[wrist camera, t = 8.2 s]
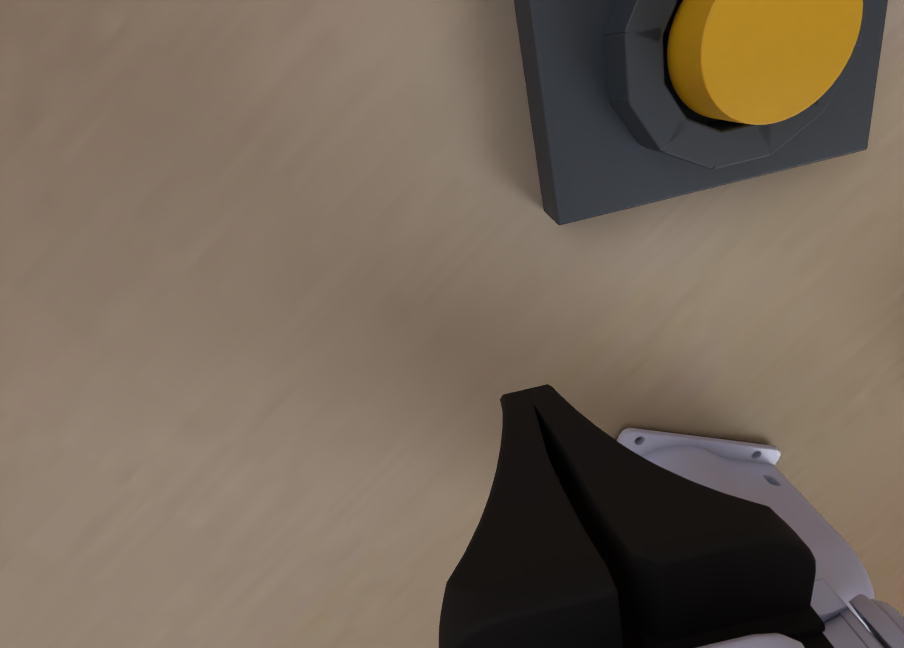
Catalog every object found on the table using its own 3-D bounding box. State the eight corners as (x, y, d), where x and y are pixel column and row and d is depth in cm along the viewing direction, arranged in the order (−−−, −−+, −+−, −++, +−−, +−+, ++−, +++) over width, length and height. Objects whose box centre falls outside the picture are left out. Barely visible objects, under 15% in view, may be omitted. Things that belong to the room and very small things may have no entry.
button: (817, -68, 15) (875, -85, 13) (803, 99, 17) (852, 104, 15) (663, -29, 15) (700, -42, 13) (668, 133, 17) (700, 141, 16)
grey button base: (857, -169, 17) (979, -232, 14) (824, 142, 22) (910, 157, 18) (502, -80, 17) (530, -118, 14) (543, 212, 22) (573, 240, 18)
